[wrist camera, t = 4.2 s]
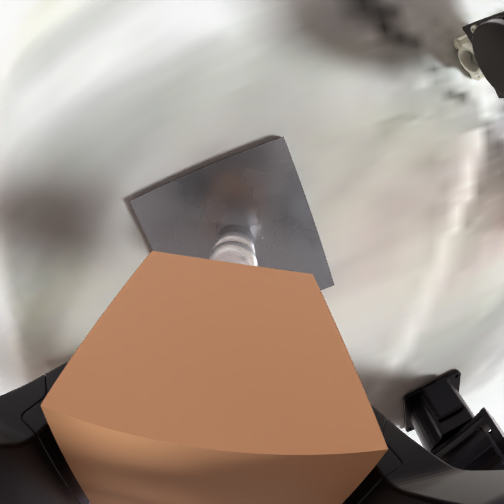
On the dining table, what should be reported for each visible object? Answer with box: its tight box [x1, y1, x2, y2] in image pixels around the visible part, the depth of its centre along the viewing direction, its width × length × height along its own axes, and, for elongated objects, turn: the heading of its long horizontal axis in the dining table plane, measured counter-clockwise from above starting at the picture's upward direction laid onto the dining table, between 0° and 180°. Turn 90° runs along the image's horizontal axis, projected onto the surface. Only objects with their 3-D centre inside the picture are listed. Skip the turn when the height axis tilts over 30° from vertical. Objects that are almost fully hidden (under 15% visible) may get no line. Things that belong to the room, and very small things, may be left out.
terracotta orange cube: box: [41, 251, 388, 504], centre depth 7 cm, size 5×5×6 cm
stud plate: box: [130, 137, 334, 290], centre depth 17 cm, size 10×10×6 cm
